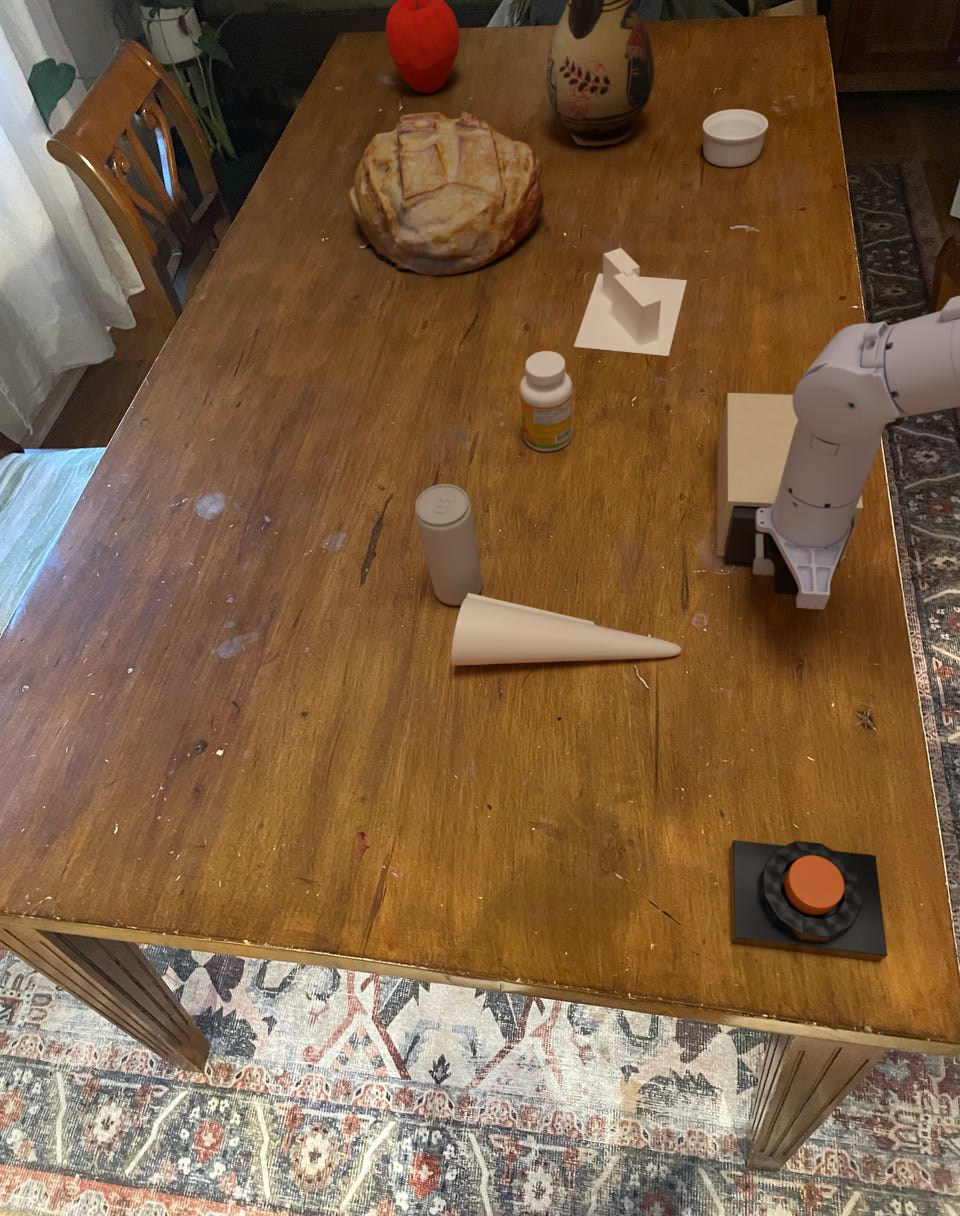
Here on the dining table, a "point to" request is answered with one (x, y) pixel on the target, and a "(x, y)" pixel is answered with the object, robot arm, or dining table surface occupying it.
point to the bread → (445, 193)
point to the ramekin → (733, 137)
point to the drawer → (751, 541)
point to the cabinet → (754, 455)
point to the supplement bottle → (546, 402)
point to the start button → (814, 885)
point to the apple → (422, 42)
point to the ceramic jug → (600, 70)
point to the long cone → (541, 636)
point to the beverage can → (449, 542)
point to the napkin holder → (630, 309)
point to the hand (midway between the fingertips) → (787, 590)
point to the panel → (781, 925)
